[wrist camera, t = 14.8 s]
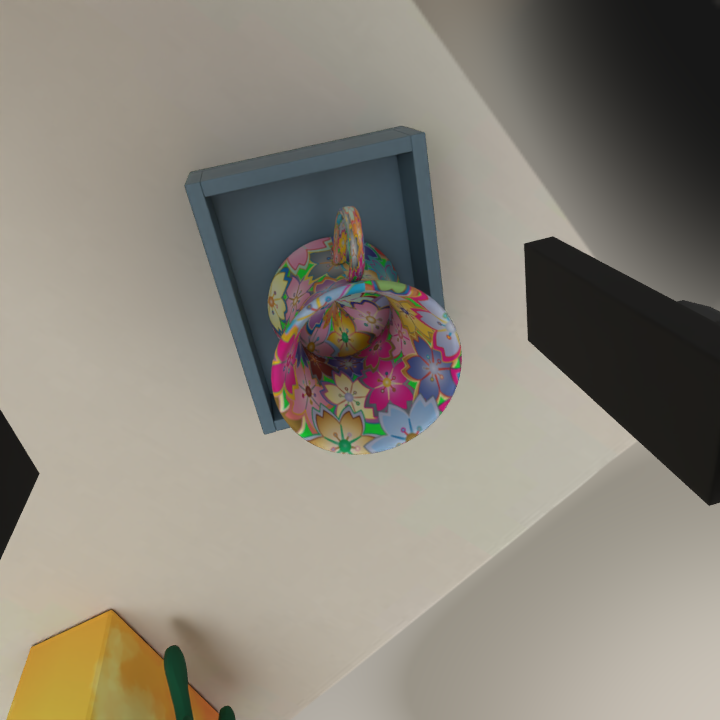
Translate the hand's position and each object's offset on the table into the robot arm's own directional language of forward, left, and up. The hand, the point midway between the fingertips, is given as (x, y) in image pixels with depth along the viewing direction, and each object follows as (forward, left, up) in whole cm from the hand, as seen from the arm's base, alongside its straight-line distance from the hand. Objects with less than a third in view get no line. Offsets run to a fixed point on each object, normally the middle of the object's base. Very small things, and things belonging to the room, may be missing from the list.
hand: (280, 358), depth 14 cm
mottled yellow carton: (+18, +37, -22) cm, 47 cm away
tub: (-3, +6, -22) cm, 23 cm away
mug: (-4, +6, -21) cm, 22 cm away
